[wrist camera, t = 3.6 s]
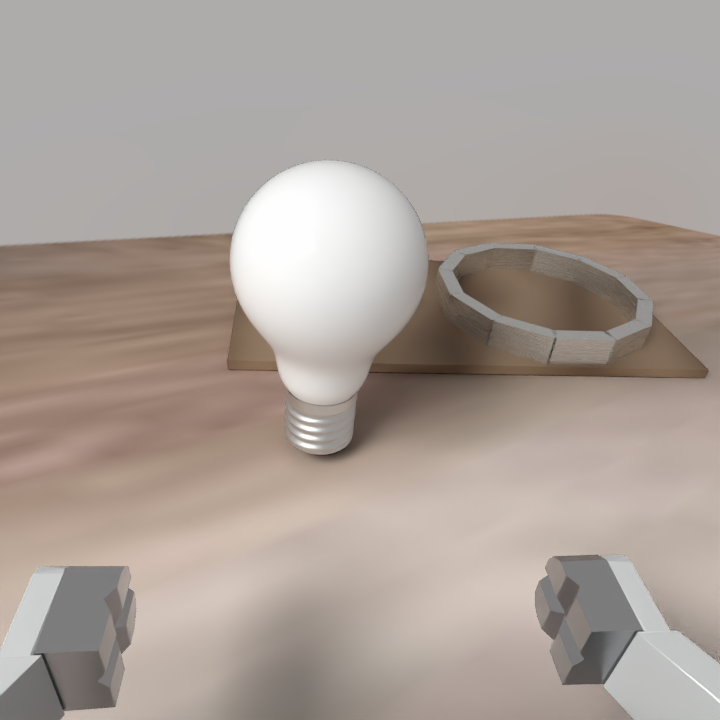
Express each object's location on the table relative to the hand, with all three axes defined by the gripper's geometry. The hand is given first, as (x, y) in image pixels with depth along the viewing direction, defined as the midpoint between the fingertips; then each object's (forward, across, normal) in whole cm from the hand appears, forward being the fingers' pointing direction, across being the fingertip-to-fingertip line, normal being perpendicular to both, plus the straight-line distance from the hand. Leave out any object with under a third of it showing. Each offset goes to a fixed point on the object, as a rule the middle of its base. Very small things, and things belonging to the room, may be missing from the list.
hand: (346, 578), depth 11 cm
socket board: (+21, -8, +6) cm, 24 cm away
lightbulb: (+10, 0, +6) cm, 12 cm away
